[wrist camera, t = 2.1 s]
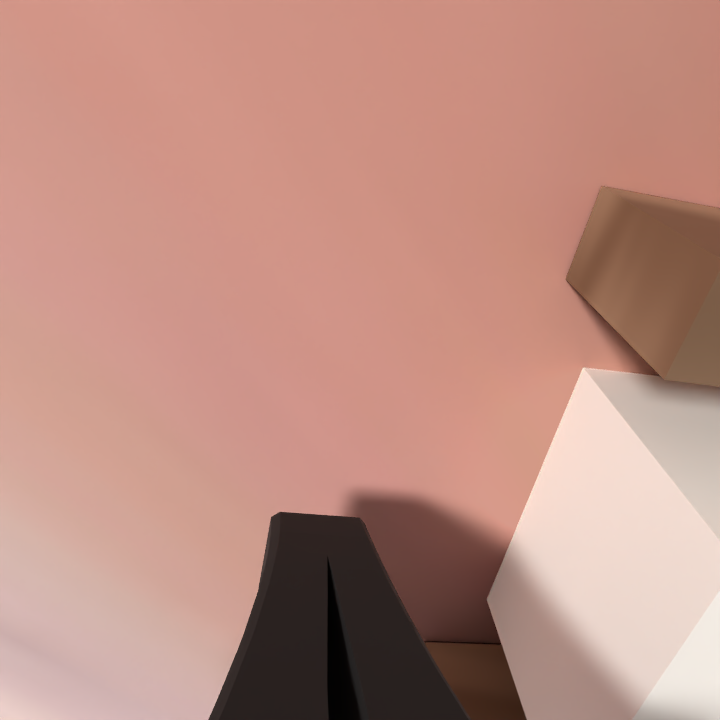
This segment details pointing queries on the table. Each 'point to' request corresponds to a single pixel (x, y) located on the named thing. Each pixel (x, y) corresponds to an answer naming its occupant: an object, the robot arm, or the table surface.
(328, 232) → the table surface
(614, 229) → the trap lane
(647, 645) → the block
